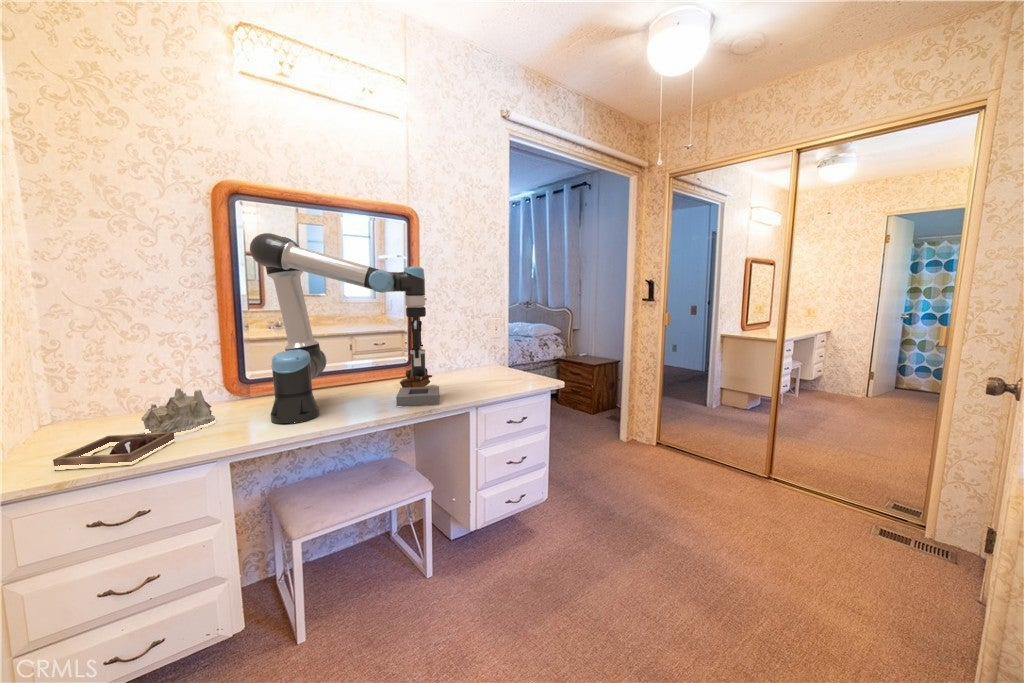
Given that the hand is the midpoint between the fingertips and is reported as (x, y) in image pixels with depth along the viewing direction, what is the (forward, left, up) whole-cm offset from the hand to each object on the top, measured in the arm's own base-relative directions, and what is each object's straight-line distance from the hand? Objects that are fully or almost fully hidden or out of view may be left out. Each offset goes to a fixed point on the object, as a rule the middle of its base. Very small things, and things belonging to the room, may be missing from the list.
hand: (418, 364), depth 154 cm
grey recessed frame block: (0, 0, -15) cm, 15 cm away
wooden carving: (-2, +19, -15) cm, 25 cm away
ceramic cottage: (-75, -18, -16) cm, 79 cm away
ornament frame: (-78, -38, -15) cm, 88 cm away
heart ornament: (-74, -38, -16) cm, 85 cm away
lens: (0, 0, -4) cm, 4 cm away
